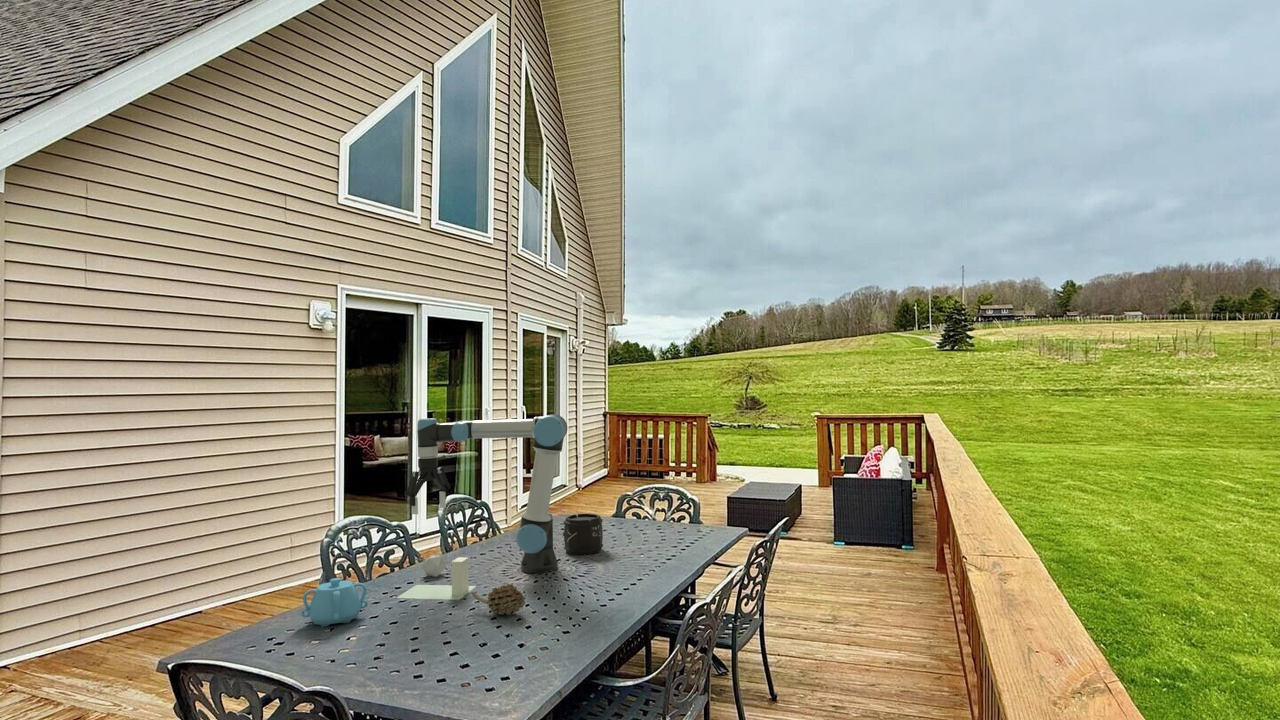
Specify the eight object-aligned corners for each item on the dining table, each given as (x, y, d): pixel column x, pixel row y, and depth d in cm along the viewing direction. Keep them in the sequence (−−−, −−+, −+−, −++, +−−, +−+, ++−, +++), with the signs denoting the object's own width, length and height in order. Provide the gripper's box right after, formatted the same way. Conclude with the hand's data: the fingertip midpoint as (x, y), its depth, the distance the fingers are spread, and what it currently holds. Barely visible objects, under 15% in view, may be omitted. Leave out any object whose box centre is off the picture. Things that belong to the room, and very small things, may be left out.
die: (450, 575, 270) (444, 553, 275) (442, 570, 263) (437, 548, 268) (430, 583, 269) (425, 561, 274) (422, 578, 262) (417, 556, 267)
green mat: (476, 586, 252) (476, 586, 252) (459, 600, 236) (459, 599, 236) (416, 585, 256) (416, 584, 256) (396, 598, 240) (396, 598, 240)
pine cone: (532, 612, 222) (531, 582, 223) (516, 621, 214) (516, 590, 214) (477, 605, 231) (476, 576, 231) (459, 614, 222) (459, 584, 222)
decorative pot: (332, 633, 207) (332, 589, 208) (296, 625, 214) (296, 583, 214) (372, 616, 222) (372, 575, 223) (338, 609, 229) (338, 570, 229)
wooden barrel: (568, 546, 313) (567, 512, 314) (605, 546, 311) (605, 513, 311) (558, 556, 295) (558, 520, 296) (598, 556, 293) (597, 520, 293)
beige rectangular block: (468, 590, 247) (468, 557, 248) (462, 595, 242) (461, 561, 242) (458, 589, 248) (458, 557, 248) (451, 594, 242) (451, 561, 243)
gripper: (446, 453, 277) (447, 504, 276) (395, 460, 256) (396, 515, 255) (458, 454, 273) (459, 506, 272) (407, 461, 252) (409, 517, 251)
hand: (429, 511), depth 263 cm, fingers open, 13 cm apart
